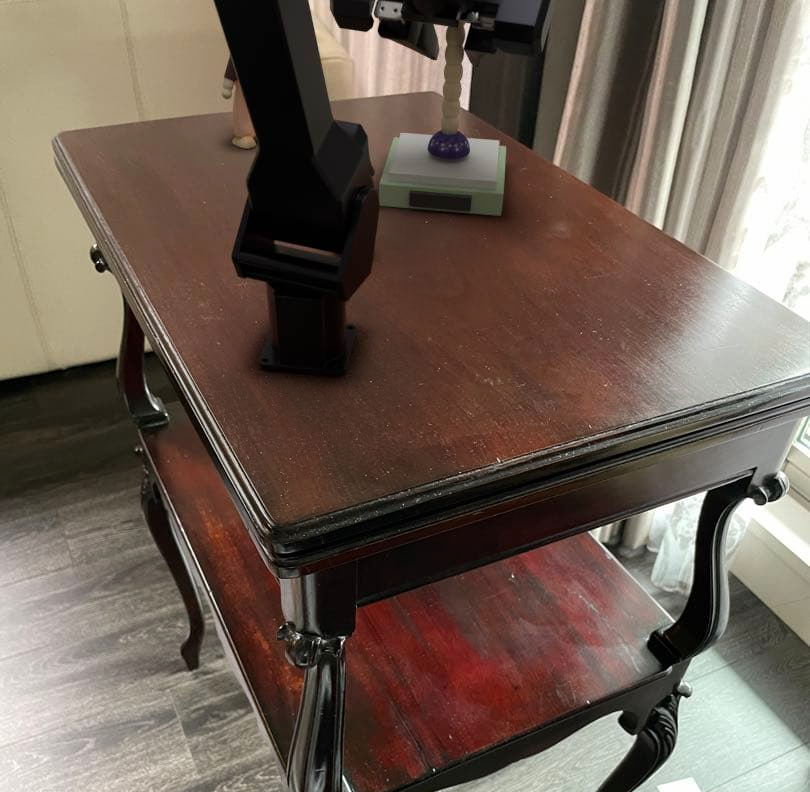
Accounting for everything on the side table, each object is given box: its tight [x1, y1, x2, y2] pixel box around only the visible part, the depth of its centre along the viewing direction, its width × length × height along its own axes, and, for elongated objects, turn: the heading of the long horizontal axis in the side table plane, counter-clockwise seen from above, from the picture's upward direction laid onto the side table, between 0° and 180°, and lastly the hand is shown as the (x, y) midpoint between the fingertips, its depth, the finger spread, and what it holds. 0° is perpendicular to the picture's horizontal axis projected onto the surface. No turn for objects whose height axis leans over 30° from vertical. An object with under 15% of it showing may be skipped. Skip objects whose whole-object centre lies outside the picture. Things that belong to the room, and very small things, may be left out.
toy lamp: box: [428, 22, 470, 159], centre depth 78 cm, size 5×5×17 cm
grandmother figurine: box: [221, 55, 257, 150], centre depth 88 cm, size 8×4×13 cm, turn 168°
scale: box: [378, 132, 507, 217], centre depth 85 cm, size 12×12×3 cm
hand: (457, 58), depth 79 cm, fingers closed on toy lamp, 4 cm apart
